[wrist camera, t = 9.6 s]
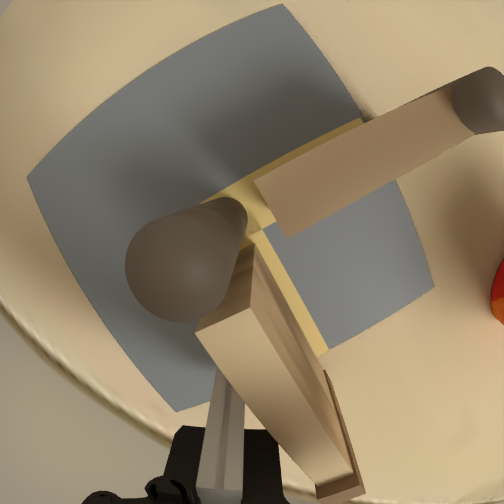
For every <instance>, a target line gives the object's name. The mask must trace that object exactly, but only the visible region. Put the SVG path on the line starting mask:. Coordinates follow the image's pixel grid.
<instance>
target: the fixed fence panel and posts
mask: <svg viewBox="0 0 504 504" xmlns="http://www.w3.org/2000/svg"><path fill="white" fill-rule="evenodd" d="M497 131H504V75H503V74H502V73H501V72H499V71H498V70H497V69H495V68H493V67H485V68H482V69H480V70H478V71H475V72H473V73H471V74H468V75H466V76H464V77H462V78H459V79H457V80H455V81H453V82H450V83H448V84H446V85H444V86H442V87H440V88H438V89H435V90H433V91H431V92H429V93H427V94H425V95H423V96H421V97H419V98H417V99H415V100H413V101H411V102H408V103H406V104H404V105H402V106H400V107H398V108H396V109H394V110H392V111H390V112H388V113H386V114H383V115H381V116H379V117H377V118H375V119H373V120H370V121H368V122H366V123H364V124H362V125H360V126H358V127H356V128H354V129H351V130H349V131H347V132H345V133H343V134H341V135H339V136H337V137H335V138H333V139H331V140H329V141H327V142H325V143H323V144H321V145H319V146H317V147H315V148H313V149H312V150H310V151H308V152H306V153H304V154H302V155H300V156H298V157H296V158H294V159H292V160H291V161H289V162H287V163H285V164H283V165H281V166H279V167H278V168H276V169H274V170H272V171H270V172H268V173H267V174H265V175H263V176H261V177H259V178H258V179H256V180H254V182H255V184H256V186H257V188H258V189H259V191H260V193H261V195H262V196H263V198H264V200H265V202H266V203H267V205H268V207H269V209H270V210H271V212H272V214H273V216H274V217H275V219H276V221H277V223H278V225H279V226H280V228H281V230H282V232H283V234H284V235H285V237H286V239H288V238H290V237H292V236H293V235H295V234H297V233H299V232H301V231H303V230H304V229H306V228H308V227H310V226H312V225H313V224H315V223H317V222H319V221H321V220H322V219H324V218H326V217H328V216H330V215H331V214H333V213H335V212H337V211H339V210H340V209H342V208H344V207H346V206H348V205H349V204H351V203H353V202H355V201H357V200H358V199H360V198H362V197H364V196H366V195H367V194H369V193H371V192H373V191H375V190H376V189H378V188H380V187H382V186H384V185H385V184H387V183H389V182H391V181H392V180H394V179H396V178H398V177H400V176H401V175H403V174H405V173H407V172H409V171H410V170H412V169H414V168H416V167H417V166H419V165H421V164H423V163H425V162H426V161H428V160H430V159H432V158H433V157H435V156H437V155H439V154H441V153H442V152H444V151H446V150H448V149H449V148H451V147H453V146H455V145H457V144H458V143H460V142H462V141H464V140H465V139H467V138H469V137H471V136H472V135H477V134H483V133H490V132H497ZM247 223H248V216H247V212H246V210H245V208H244V206H243V205H242V204H241V203H240V202H239V201H237V200H236V199H234V198H230V197H220V198H217V199H214V200H211V201H208V202H205V203H202V204H199V205H196V206H193V207H190V208H187V209H184V210H181V211H178V212H176V213H173V214H170V215H167V216H164V217H161V218H159V219H156V220H154V221H151V222H149V223H148V224H146V225H145V226H143V227H142V228H141V229H140V230H139V231H138V232H137V233H136V234H135V235H134V237H133V238H132V240H131V242H130V244H129V246H128V249H127V252H126V257H125V273H126V278H127V282H128V285H129V287H130V289H131V291H132V293H133V295H134V296H135V298H136V299H137V301H138V302H139V303H140V304H141V305H142V306H143V307H144V308H145V309H146V310H147V311H149V312H150V313H152V314H153V315H155V316H157V317H159V318H161V319H164V320H167V321H171V322H178V323H186V322H193V321H197V320H200V319H202V318H204V317H206V316H208V315H209V314H211V313H212V312H213V311H214V310H215V309H216V308H217V307H218V306H219V305H220V304H221V302H222V301H223V299H224V297H225V295H226V292H227V290H228V286H229V283H230V280H231V276H232V273H233V270H234V266H235V263H236V260H237V256H238V253H239V250H240V246H241V243H242V240H243V237H244V233H245V230H246V227H247Z"/></svg>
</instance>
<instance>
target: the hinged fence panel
mask: <svg viewBox="0 0 504 504" xmlns="http://www.w3.org/2000/svg"><path fill="white" fill-rule="evenodd" d="M195 334H196V336H197V337H198V339H199V340H200V342H201V343H202V345H203V346H204V348H205V349H206V350H207V352H208V353H209V355H210V356H211V358H212V359H213V360H214V362H215V363H216V365H217V366H218V367H219V369H220V370H221V371H222V373H223V374H224V376H225V377H226V378H227V380H228V381H229V382H230V384H231V385H232V386H233V388H234V389H235V390H236V392H237V393H238V394H239V396H240V397H241V398H242V399H243V401H244V402H245V403H246V405H247V406H248V407H249V408H250V410H251V411H252V412H253V413H254V415H255V416H256V417H257V418H258V420H259V421H260V422H261V423H262V425H263V426H264V427H265V428H266V429H267V431H268V432H269V433H270V434H271V435H272V437H273V438H274V439H275V440H276V441H277V442H278V444H279V445H280V446H281V447H282V448H283V449H284V450H285V452H286V453H287V454H288V455H289V456H290V457H291V458H292V460H293V461H294V462H295V463H296V464H297V465H298V466H299V467H300V468H301V469H302V470H303V472H304V473H305V474H306V475H307V476H308V477H309V478H310V479H311V480H312V481H313V482H314V483H315V488H316V495H317V500H318V501H319V502H320V503H321V504H338V503H341V502H344V501H346V500H349V499H352V498H355V497H358V496H360V495H363V494H365V493H366V492H365V488H364V485H363V481H362V478H361V475H360V471H359V468H358V465H357V461H356V458H355V455H354V451H353V448H352V445H351V442H350V438H349V435H348V432H347V429H346V426H345V422H344V419H343V416H342V413H341V410H340V407H339V404H338V401H337V398H336V395H335V391H334V388H333V385H332V382H331V380H330V378H329V376H328V374H327V373H326V371H325V370H323V369H322V367H321V365H320V363H319V361H318V360H317V358H316V356H315V354H314V352H313V350H312V348H311V346H310V344H309V343H308V341H307V339H306V337H305V335H304V333H303V331H302V329H301V328H300V326H299V324H298V322H297V320H296V318H295V316H294V314H293V313H292V311H291V309H290V307H289V305H288V303H287V301H286V299H285V298H284V296H283V294H282V292H281V290H280V288H279V286H278V284H277V283H276V281H275V279H274V277H273V275H272V273H271V271H270V270H269V268H268V266H267V264H266V262H265V260H264V258H263V257H262V255H261V253H260V251H259V249H258V247H257V245H256V244H255V243H253V244H251V245H249V246H247V247H245V248H244V249H242V250H240V251H239V253H238V256H237V260H236V263H235V266H234V270H233V273H232V276H231V280H230V283H229V286H228V290H227V292H226V295H225V297H224V299H223V301H222V302H221V304H220V305H219V306H218V307H217V308H216V309H215V310H214V311H213V312H212V313H211V314H209V315H208V316H206V317H204V318H202V319H200V321H199V323H198V326H197V328H196V331H195Z"/></svg>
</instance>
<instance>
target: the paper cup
mask: <svg viewBox="0 0 504 504" xmlns="http://www.w3.org/2000/svg"><path fill="white" fill-rule="evenodd" d="M491 308H492V312H493V314H494V316H495V317H496V318H497V319H498V320H499V321H500V322H501V323H502V324H503V325H504V259H503V261H502V262H501V264H500V266H499V268H498V270H497V273H496V276H495V279H494V282H493V286H492V292H491Z"/></svg>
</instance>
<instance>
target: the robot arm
mask: <svg viewBox="0 0 504 504" xmlns="http://www.w3.org/2000/svg"><path fill="white" fill-rule="evenodd" d="M244 415H245V402H244V401H243V399H242V398H241V397H240V396H239V394H238V393H237V392H236V390H235V389H234V388H233V386H232V385H231V384H230V382H229V381H228V380H227V378H226V377H225V376H224V374H223V373H222V371H221V370H220V369H219V367H218V366H217V368H216V374H215V379H214V385H213V390H212V396H211V401H210V407H209V413H208V418H207V424H206V428H204V427H194V426H184V425H183V426H182V427H181V428H180V429H179V430H178V431H177V432H176V433H175V435H174V439H173V442H172V446H171V449H170V454H169V457H168V460H167V464H166V467H165V471H164V475H163V476H160V477H156V478H154V479H152V480H151V481H149V482H148V483H147V485H146V486H145V490H146V492H147V494H148V496H147V497H145V498H128V499H127V498H126V499H125V498H124V499H121V498H120V497H118V496H117V495H116V494H114V493H112V492H109V491H97V492H94V493H92V494H91V495H89V496H88V497H87V498H86V499H85V500H84V501H83V503H82V504H290V503H289V502H288V501H287V500H286V498H285V497H284V494H283V488H282V478H281V467H280V457H279V447H278V442H277V441H276V440H275V439H274V438H273V437H272V435H271V434H270V433H269V432H268V431H267V429H244Z"/></svg>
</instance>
